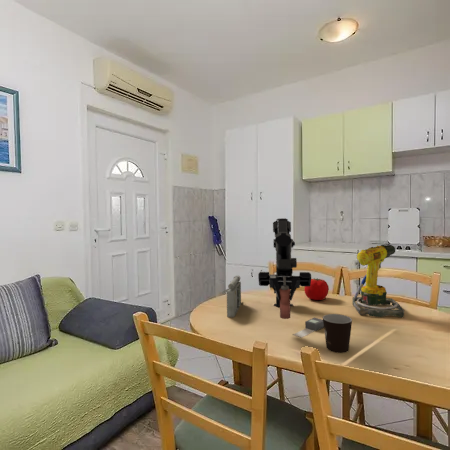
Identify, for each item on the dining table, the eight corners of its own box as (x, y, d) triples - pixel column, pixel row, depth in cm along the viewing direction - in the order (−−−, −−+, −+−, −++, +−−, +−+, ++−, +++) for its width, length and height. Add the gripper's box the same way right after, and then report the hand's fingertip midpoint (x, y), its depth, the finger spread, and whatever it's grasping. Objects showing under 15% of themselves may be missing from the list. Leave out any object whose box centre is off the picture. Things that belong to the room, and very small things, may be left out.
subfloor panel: (291, 318, 127) (291, 316, 127) (327, 328, 116) (327, 326, 116) (267, 328, 117) (267, 326, 117) (304, 340, 106) (304, 338, 106)
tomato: (314, 303, 147) (313, 281, 146) (299, 297, 158) (299, 277, 157) (334, 300, 151) (334, 279, 151) (319, 294, 162) (319, 275, 161)
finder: (314, 323, 119) (314, 317, 119) (324, 326, 116) (324, 319, 116) (305, 327, 115) (305, 321, 115) (316, 331, 112) (315, 324, 112)
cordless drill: (409, 318, 124) (409, 248, 123) (358, 316, 128) (357, 248, 127) (394, 304, 142) (394, 243, 141) (350, 303, 146) (349, 244, 145)
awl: (283, 314, 113) (282, 275, 113) (292, 316, 111) (291, 276, 111) (278, 317, 111) (277, 276, 110) (287, 319, 108) (286, 277, 108)
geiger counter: (235, 284, 130) (244, 272, 154) (220, 284, 131) (231, 272, 156) (236, 317, 130) (244, 300, 155) (221, 316, 132) (232, 300, 156)
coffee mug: (349, 359, 92) (349, 325, 91) (319, 352, 96) (319, 320, 96) (356, 344, 102) (356, 313, 101) (329, 339, 106) (328, 310, 106)
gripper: (258, 250, 115) (256, 287, 105) (310, 249, 112) (314, 288, 102) (259, 267, 123) (258, 303, 113) (308, 267, 120) (312, 304, 110)
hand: (285, 299), depth 109 cm, fingers closed on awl, 4 cm apart
